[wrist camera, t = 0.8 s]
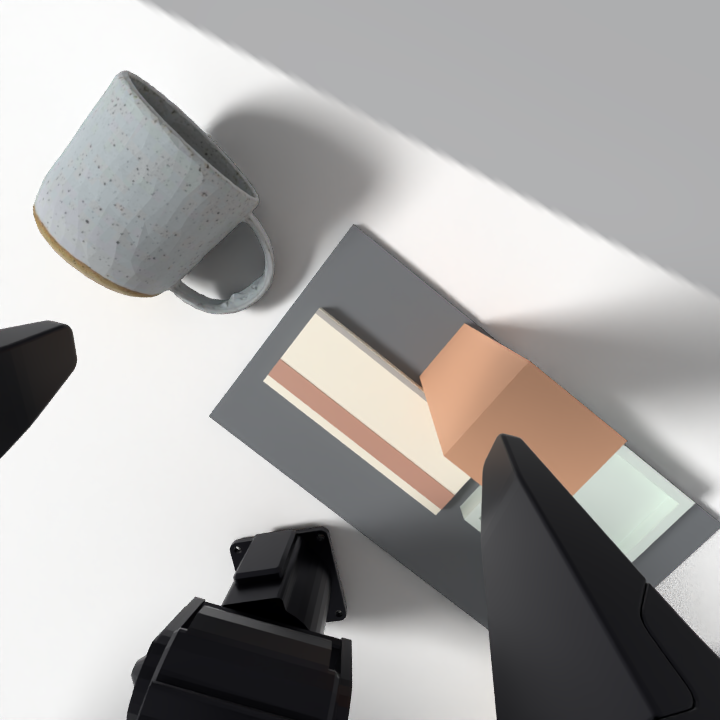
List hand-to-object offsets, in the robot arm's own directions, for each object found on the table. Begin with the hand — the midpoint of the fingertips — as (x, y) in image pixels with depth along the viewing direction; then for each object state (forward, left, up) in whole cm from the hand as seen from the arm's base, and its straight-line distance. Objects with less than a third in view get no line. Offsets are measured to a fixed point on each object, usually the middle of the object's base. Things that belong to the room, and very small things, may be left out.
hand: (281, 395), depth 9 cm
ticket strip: (-6, -1, -17) cm, 18 cm away
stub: (-4, -6, -17) cm, 18 cm away
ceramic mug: (+7, +7, -18) cm, 20 cm away
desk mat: (-10, -5, -17) cm, 21 cm away
